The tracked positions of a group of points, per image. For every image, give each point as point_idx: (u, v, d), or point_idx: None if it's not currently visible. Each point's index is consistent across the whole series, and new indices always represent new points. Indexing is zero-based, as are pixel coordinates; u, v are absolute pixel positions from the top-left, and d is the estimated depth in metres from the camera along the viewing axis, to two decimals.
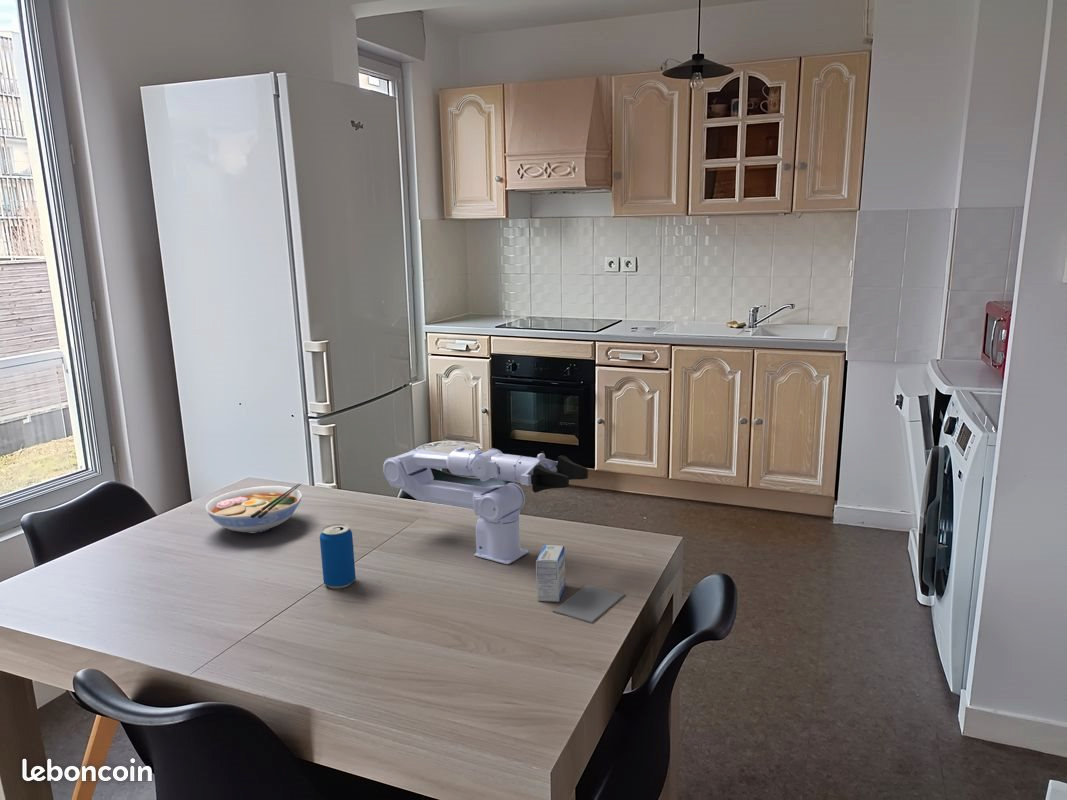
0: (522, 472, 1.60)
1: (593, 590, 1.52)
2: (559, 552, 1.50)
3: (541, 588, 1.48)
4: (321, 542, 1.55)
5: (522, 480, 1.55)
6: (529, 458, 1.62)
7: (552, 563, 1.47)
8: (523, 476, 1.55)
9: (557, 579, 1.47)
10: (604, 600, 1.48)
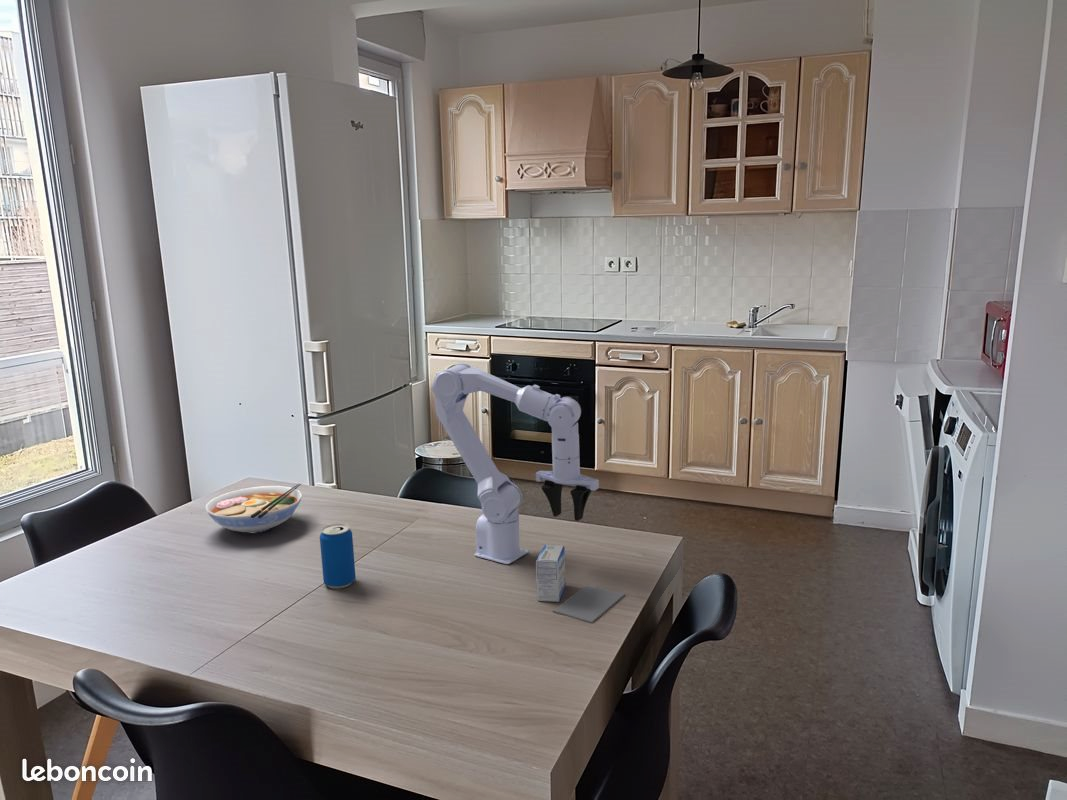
0: (578, 466, 1.60)
1: (593, 590, 1.52)
2: (559, 552, 1.50)
3: (541, 588, 1.48)
4: (321, 542, 1.55)
5: (596, 483, 1.58)
6: None
7: (552, 563, 1.47)
8: (598, 483, 1.59)
9: (557, 579, 1.47)
10: (604, 600, 1.48)
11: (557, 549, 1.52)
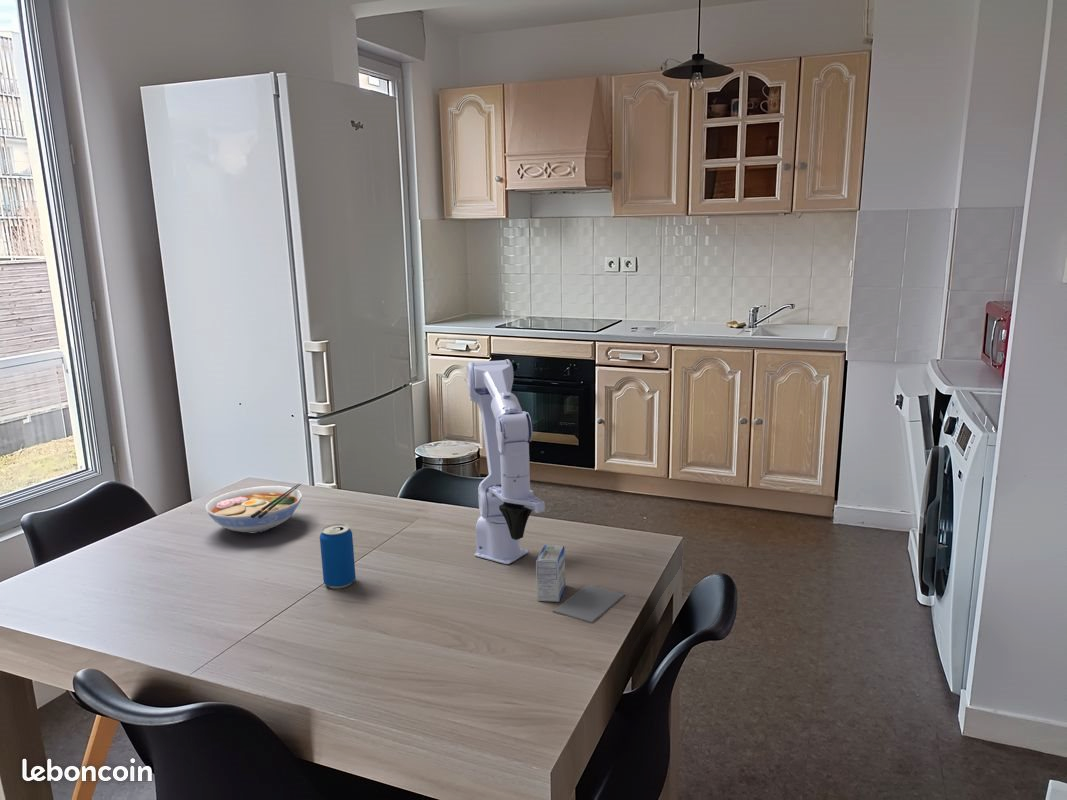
0: (526, 485, 1.50)
1: (593, 590, 1.52)
2: (559, 552, 1.50)
3: (541, 588, 1.48)
4: (321, 542, 1.55)
5: (541, 505, 1.48)
6: None
7: (552, 563, 1.47)
8: (544, 505, 1.48)
9: (557, 579, 1.47)
10: (604, 600, 1.48)
11: (557, 549, 1.52)
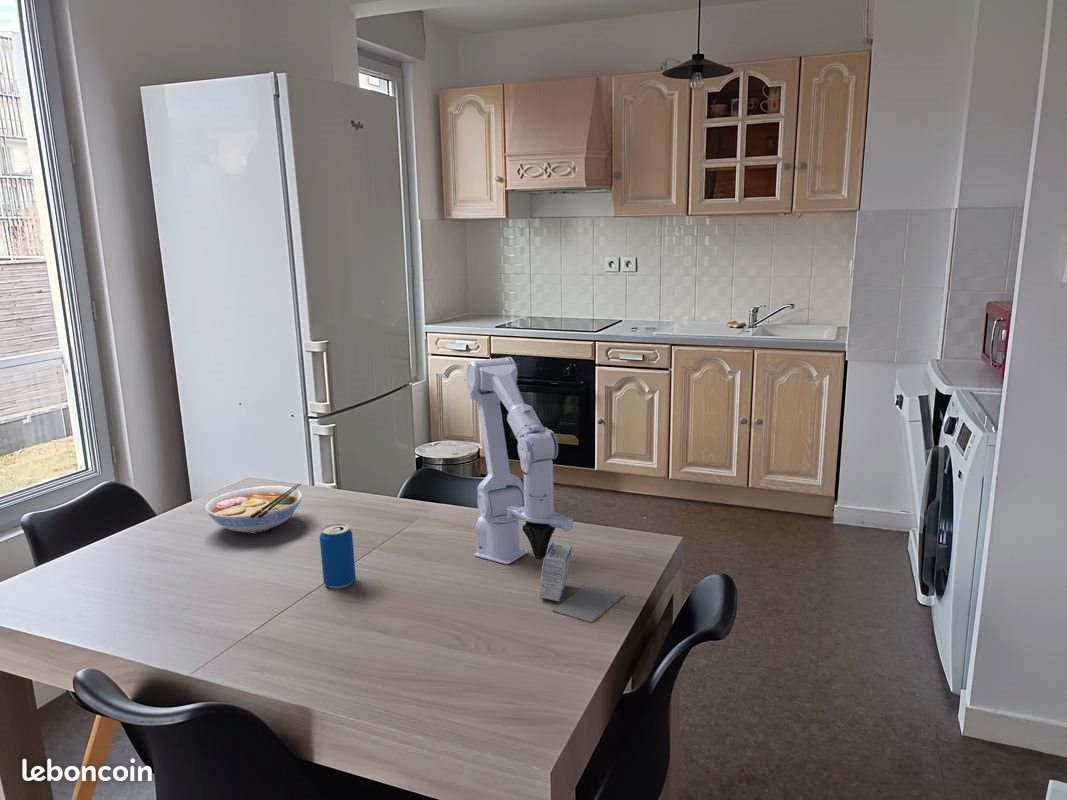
0: (551, 503, 1.48)
1: (593, 590, 1.52)
2: (567, 552, 1.50)
3: (544, 585, 1.48)
4: (321, 542, 1.55)
5: (570, 523, 1.46)
6: None
7: (560, 563, 1.46)
8: (572, 523, 1.47)
9: (562, 579, 1.47)
10: (604, 600, 1.48)
11: (565, 549, 1.52)
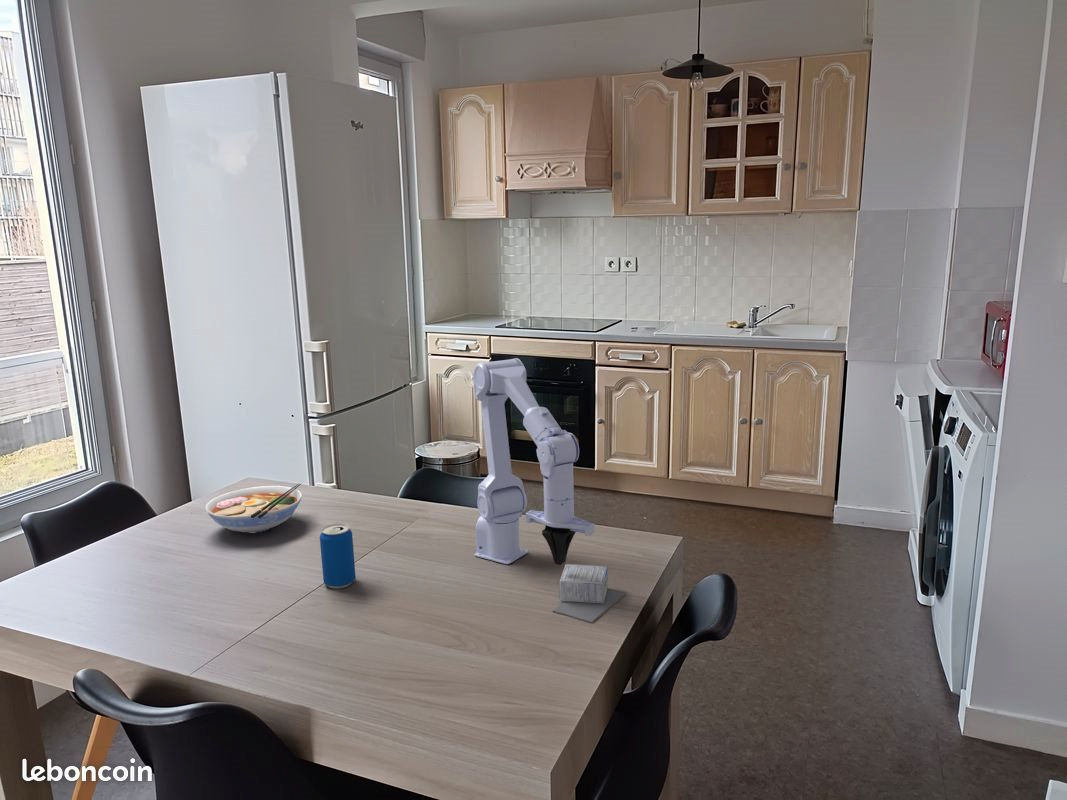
0: (572, 507, 1.46)
1: None
2: None
3: (573, 585, 1.47)
4: (321, 542, 1.55)
5: (591, 527, 1.44)
6: None
7: (601, 598, 1.46)
8: (593, 527, 1.45)
9: (584, 602, 1.47)
10: (604, 600, 1.48)
11: None
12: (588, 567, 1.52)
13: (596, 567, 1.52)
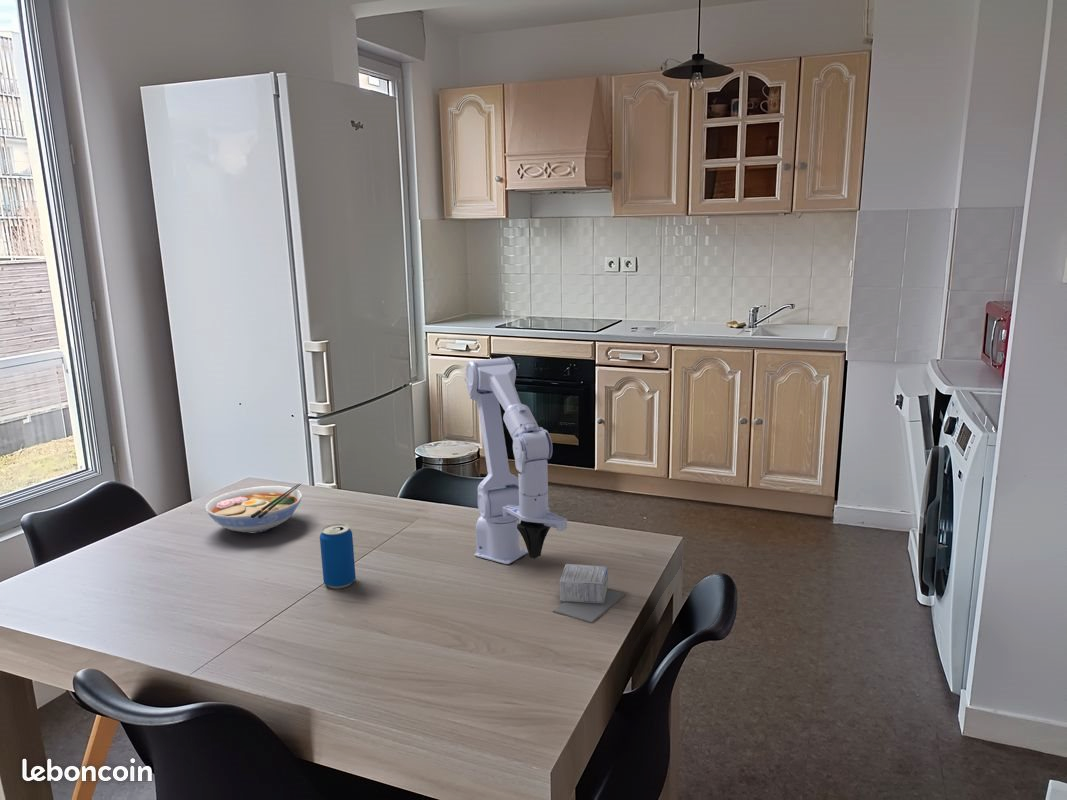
0: (545, 503, 1.49)
1: None
2: None
3: (573, 585, 1.47)
4: (321, 542, 1.55)
5: (563, 522, 1.47)
6: None
7: (601, 598, 1.46)
8: (566, 522, 1.48)
9: (584, 602, 1.47)
10: (604, 600, 1.48)
11: None
12: (588, 567, 1.52)
13: (596, 567, 1.52)
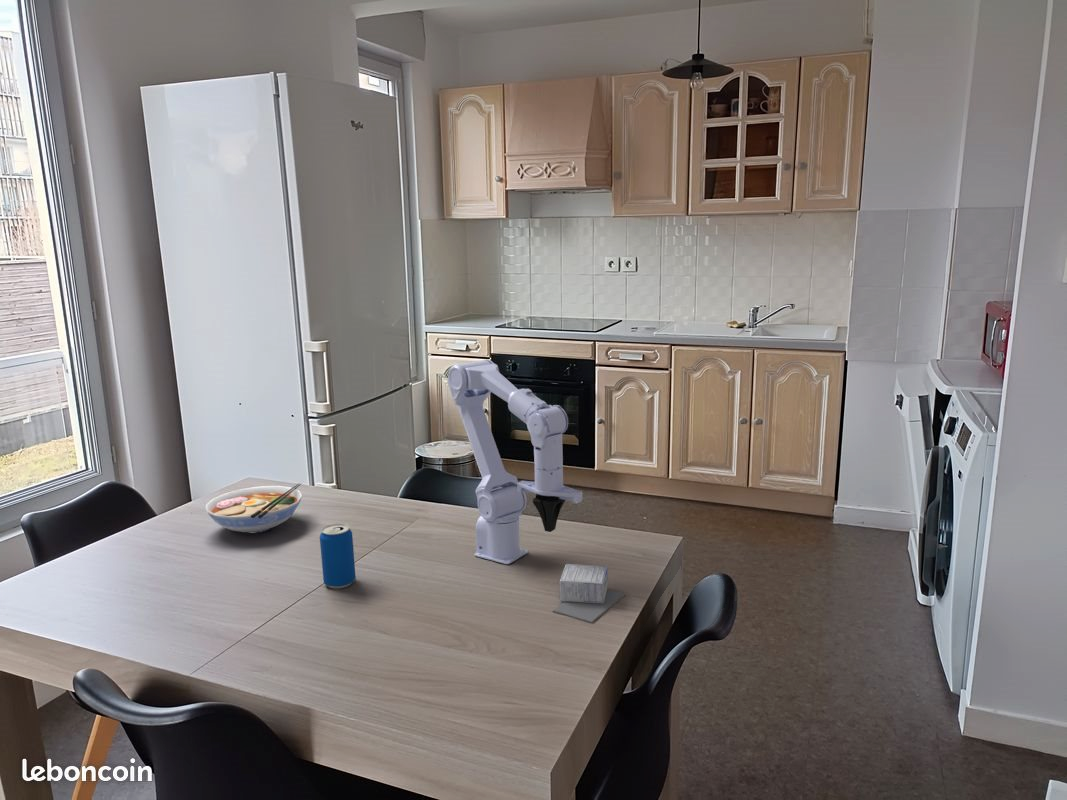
0: (561, 477, 1.53)
1: None
2: None
3: (573, 585, 1.47)
4: (321, 542, 1.55)
5: (579, 495, 1.51)
6: None
7: (601, 598, 1.46)
8: (581, 495, 1.52)
9: (584, 602, 1.47)
10: (604, 600, 1.48)
11: None
12: (588, 567, 1.52)
13: (596, 567, 1.52)
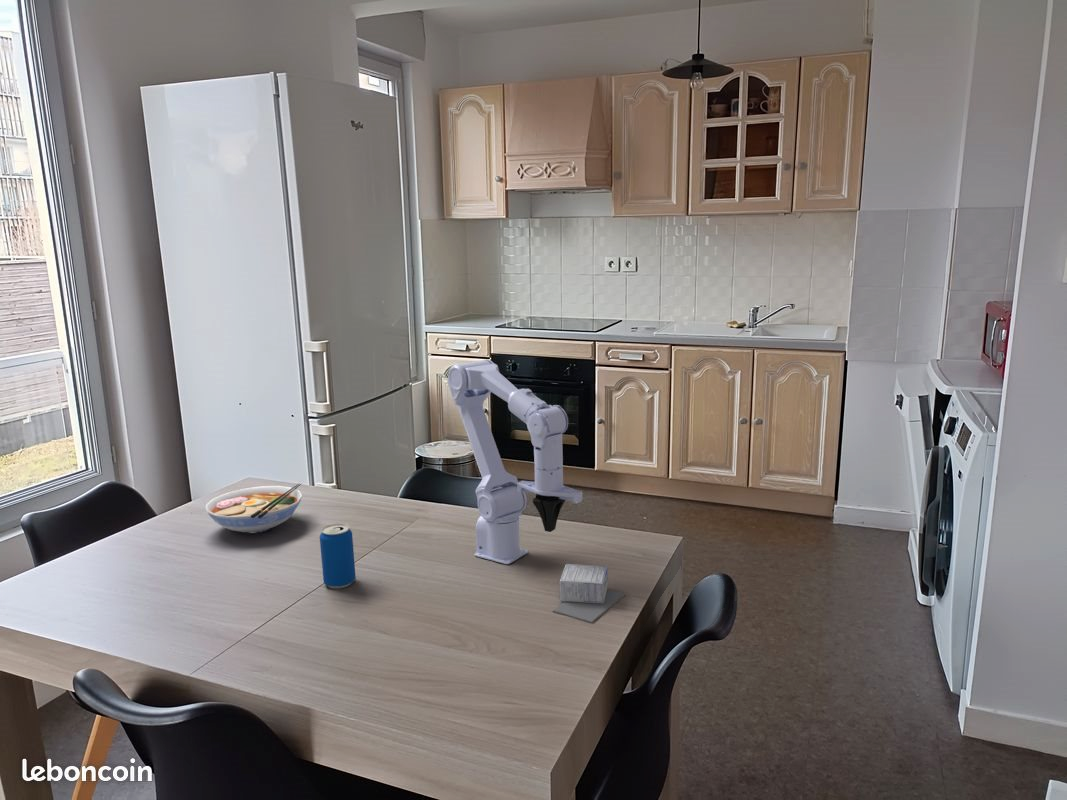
0: (561, 477, 1.53)
1: None
2: None
3: (573, 585, 1.47)
4: (321, 542, 1.55)
5: (579, 495, 1.51)
6: None
7: (601, 598, 1.46)
8: (581, 495, 1.52)
9: (584, 602, 1.47)
10: (604, 600, 1.48)
11: None
12: (588, 567, 1.52)
13: (596, 567, 1.52)
